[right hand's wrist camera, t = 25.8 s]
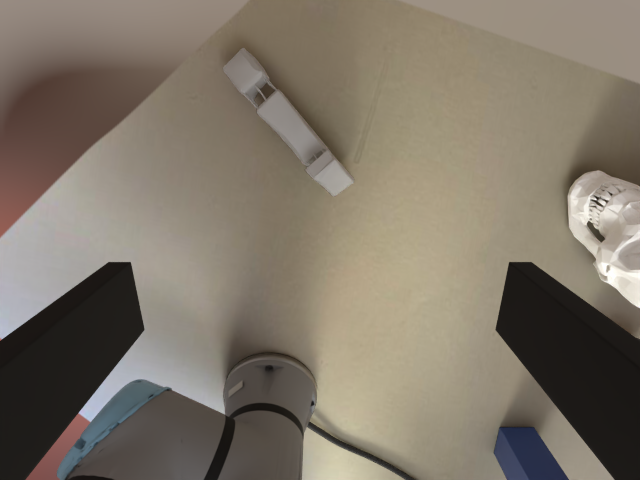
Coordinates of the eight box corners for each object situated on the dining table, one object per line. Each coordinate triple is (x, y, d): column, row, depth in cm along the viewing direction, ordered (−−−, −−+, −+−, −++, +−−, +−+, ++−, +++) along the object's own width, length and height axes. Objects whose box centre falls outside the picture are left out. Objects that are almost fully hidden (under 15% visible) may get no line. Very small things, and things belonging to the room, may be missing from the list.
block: (499, 427, 63) (535, 490, 52) (533, 427, 63) (576, 490, 52) (493, 452, 65) (526, 518, 54) (526, 452, 65) (566, 518, 54)
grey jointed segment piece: (355, 178, 47) (358, 184, 40) (334, 196, 47) (332, 205, 41) (252, 52, 43) (236, 37, 37) (230, 74, 44) (211, 63, 38)
